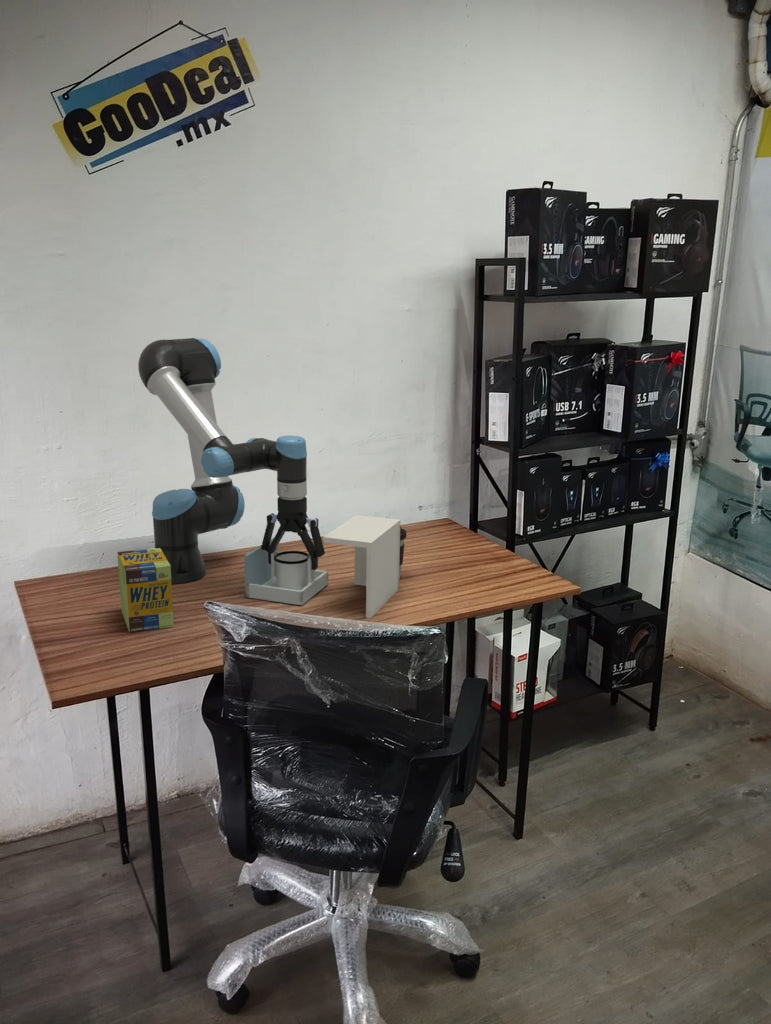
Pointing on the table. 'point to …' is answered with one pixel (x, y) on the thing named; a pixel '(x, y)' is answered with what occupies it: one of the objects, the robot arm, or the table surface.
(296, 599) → the tray
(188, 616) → the table surface
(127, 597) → the protein box
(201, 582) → the table surface
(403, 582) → the table surface
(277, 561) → the mug
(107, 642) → the table surface
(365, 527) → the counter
